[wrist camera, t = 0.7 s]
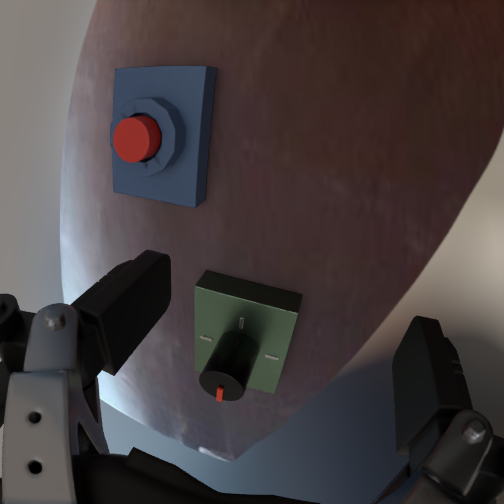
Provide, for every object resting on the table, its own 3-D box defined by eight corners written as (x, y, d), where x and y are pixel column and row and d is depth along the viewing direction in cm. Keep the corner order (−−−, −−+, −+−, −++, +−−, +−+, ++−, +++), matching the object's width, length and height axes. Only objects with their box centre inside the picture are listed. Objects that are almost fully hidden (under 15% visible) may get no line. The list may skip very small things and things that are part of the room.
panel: (206, 269, 32) (193, 286, 29) (302, 294, 30) (298, 314, 28) (203, 354, 38) (194, 371, 36) (279, 376, 37) (274, 395, 34)
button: (126, 114, 22) (113, 117, 21) (162, 116, 22) (150, 118, 20) (125, 156, 24) (113, 160, 23) (160, 160, 24) (148, 165, 22)
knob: (219, 327, 31) (197, 368, 26) (261, 339, 30) (245, 382, 25) (217, 355, 33) (197, 394, 28) (256, 366, 32) (240, 408, 27)
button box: (129, 69, 24) (102, 68, 21) (216, 68, 22) (196, 64, 19) (126, 185, 30) (101, 198, 26) (205, 200, 28) (186, 215, 25)
